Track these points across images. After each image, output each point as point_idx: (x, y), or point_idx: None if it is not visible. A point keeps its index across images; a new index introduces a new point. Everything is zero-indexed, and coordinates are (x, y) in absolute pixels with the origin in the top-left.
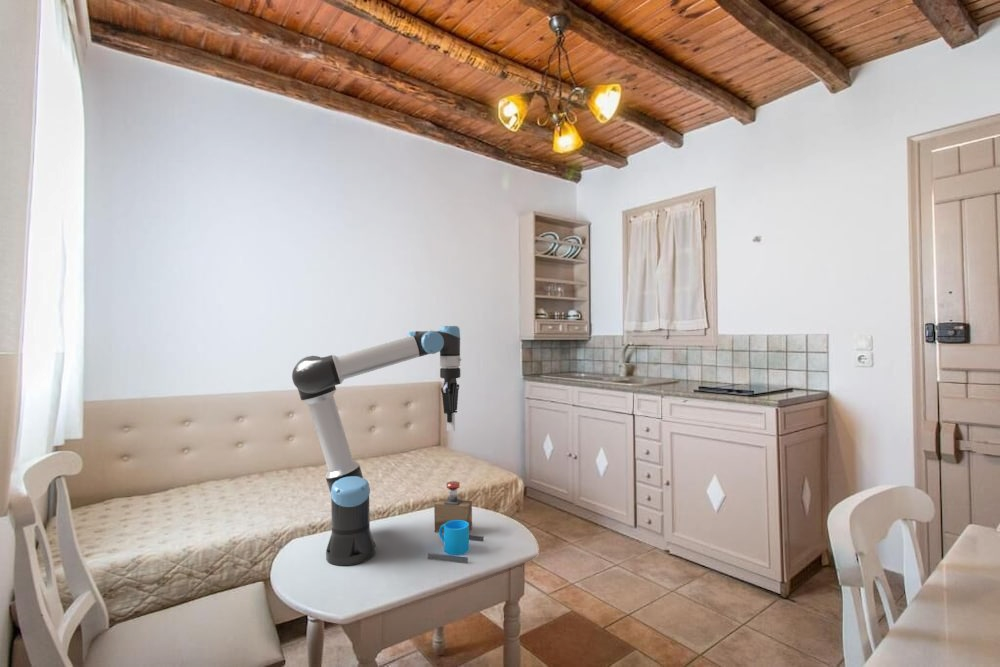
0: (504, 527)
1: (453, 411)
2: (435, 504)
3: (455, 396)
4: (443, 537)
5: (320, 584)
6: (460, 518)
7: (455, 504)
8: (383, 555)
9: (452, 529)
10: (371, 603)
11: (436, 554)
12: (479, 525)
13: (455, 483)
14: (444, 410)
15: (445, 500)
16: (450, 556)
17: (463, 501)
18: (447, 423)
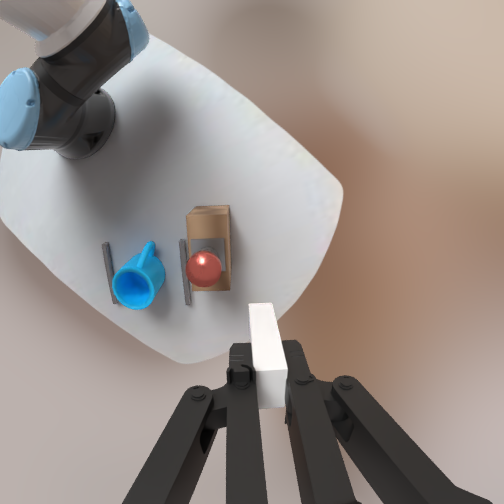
0: None
1: (286, 409)
2: (186, 218)
3: (378, 484)
4: (152, 247)
5: None
6: None
7: None
8: (92, 170)
9: (113, 289)
10: (16, 231)
11: (105, 258)
12: (250, 275)
13: (203, 277)
14: (181, 403)
15: (215, 231)
16: (108, 280)
17: (221, 274)
18: (251, 331)
